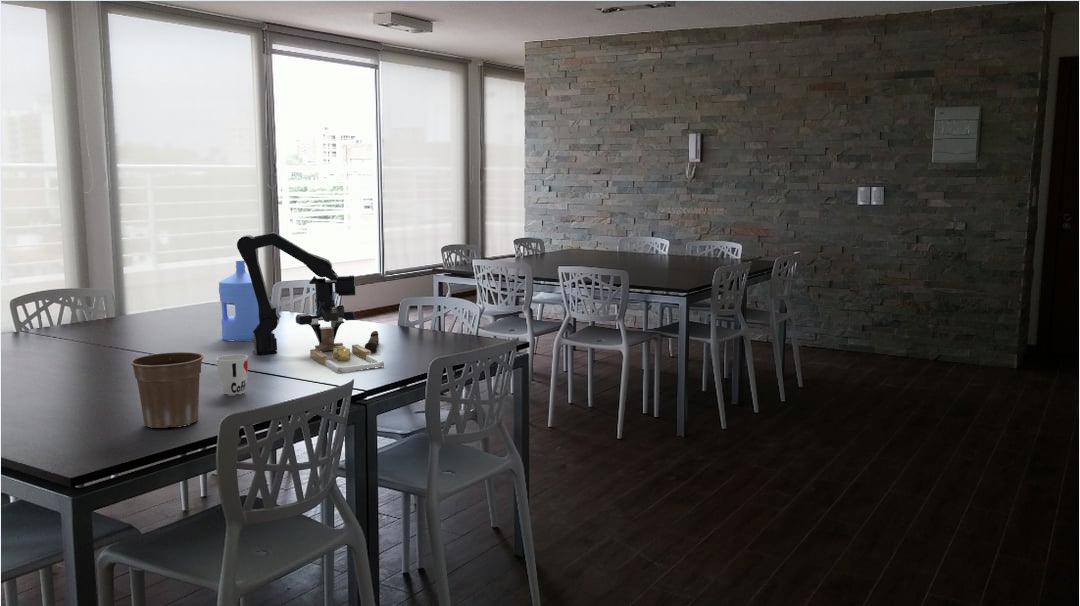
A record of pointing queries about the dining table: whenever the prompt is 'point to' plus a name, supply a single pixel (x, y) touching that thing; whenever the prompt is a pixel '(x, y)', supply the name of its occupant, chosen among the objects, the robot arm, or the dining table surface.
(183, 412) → the plant pot
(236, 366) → the cup
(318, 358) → the wooden blocks
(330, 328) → the brown t-shaped block
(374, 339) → the hand tool
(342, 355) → the puck
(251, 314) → the water jug
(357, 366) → the white tray
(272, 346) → the robot arm
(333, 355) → the puck
